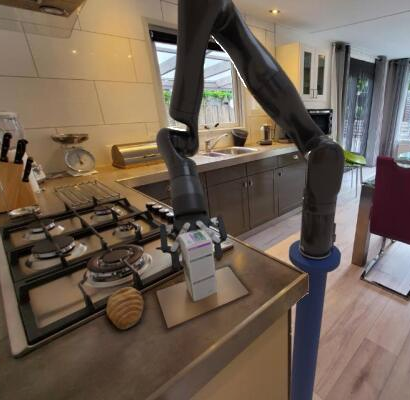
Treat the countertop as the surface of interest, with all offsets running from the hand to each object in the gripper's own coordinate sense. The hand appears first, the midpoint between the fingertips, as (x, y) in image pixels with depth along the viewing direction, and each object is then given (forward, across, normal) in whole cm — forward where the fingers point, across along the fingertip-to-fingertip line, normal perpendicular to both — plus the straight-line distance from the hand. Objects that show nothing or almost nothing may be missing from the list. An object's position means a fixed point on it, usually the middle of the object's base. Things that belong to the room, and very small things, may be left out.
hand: (199, 265), depth 55 cm
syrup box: (+5, 0, +6) cm, 8 cm away
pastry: (+5, -15, +6) cm, 17 cm away
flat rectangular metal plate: (+5, 0, +6) cm, 8 cm away
